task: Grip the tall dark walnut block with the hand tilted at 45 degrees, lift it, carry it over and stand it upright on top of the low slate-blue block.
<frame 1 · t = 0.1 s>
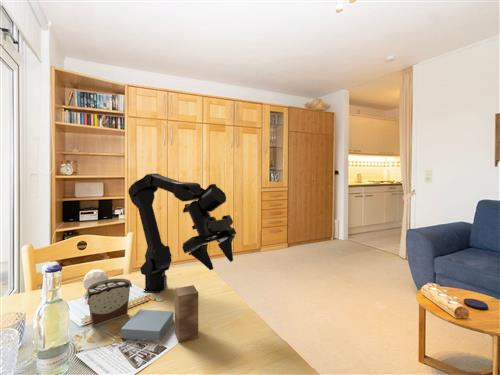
hand: (222, 265, 83), 15 cm above the table, tool tilted 35°, fingers open, 9 cm apart
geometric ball: (96, 291, 99), on the table
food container: (107, 316, 82), on the table
slate-blue block: (148, 330, 76), on the table
walnut block: (186, 335, 73), on the table
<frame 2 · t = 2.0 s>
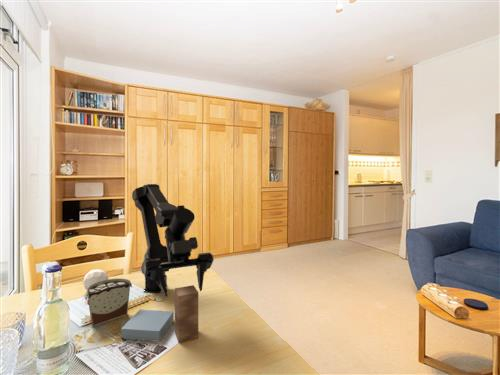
hand: (184, 293, 75), 10 cm above the table, tool tilted 45°, fingers open, 9 cm apart
nothing on the table moved.
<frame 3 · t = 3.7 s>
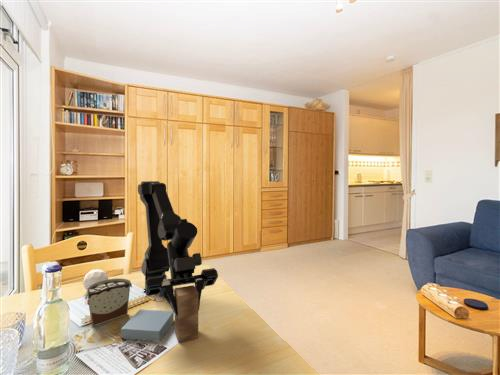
hand: (187, 313, 71), 7 cm above the table, tool tilted 45°, fingers closed on walnut block, 5 cm apart
walnut block: (186, 335, 73), on the table, touching gripper
everything else where it was.
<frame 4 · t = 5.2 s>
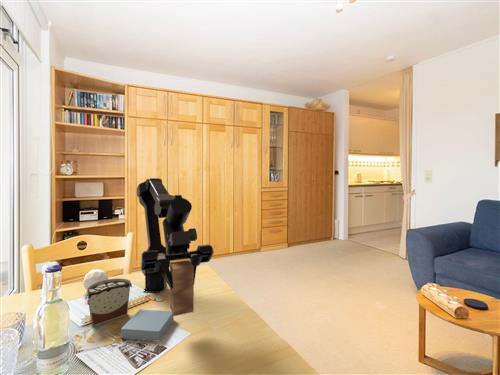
hand: (182, 286, 71), 13 cm above the table, tool tilted 45°, fingers closed on walnut block, 5 cm apart
walnut block: (181, 309, 73), point 7 cm above the table, touching gripper
everything else where it was.
when the fingers open (10 cm above the table, at t = 7.0 s): walnut block drops 1 cm, point 2 cm above the table.
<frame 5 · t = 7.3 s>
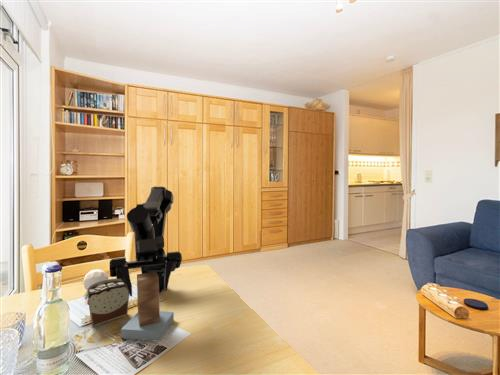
hand: (149, 292, 74), 10 cm above the table, tool tilted 45°, fingers open, 8 cm apart
walnut block: (148, 319, 75), point 2 cm above the table
everything else where it was.
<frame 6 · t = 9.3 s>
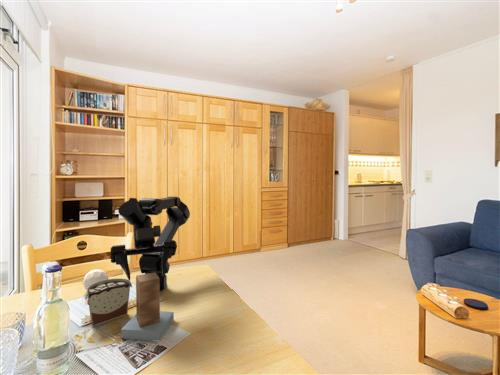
hand: (146, 276, 81), 12 cm above the table, tool tilted 45°, fingers open, 9 cm apart
nothing on the table moved.
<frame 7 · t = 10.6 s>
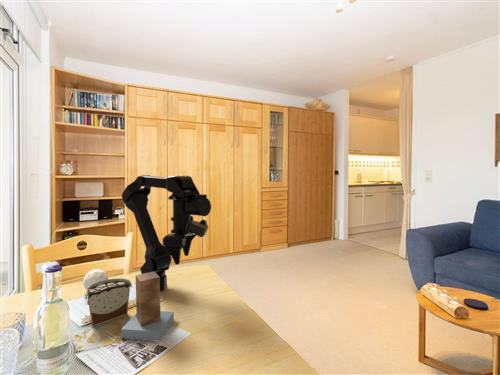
hand: (182, 259, 93), 13 cm above the table, tool pointing down, fingers open, 9 cm apart
slate-blue block: (149, 330, 76), on the table, touching walnut block
walnut block: (148, 319, 76), point 2 cm above the table, touching slate-blue block
everything else where it was.
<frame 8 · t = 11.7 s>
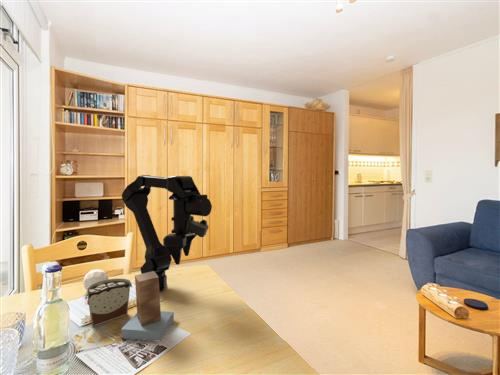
hand: (182, 259, 93), 13 cm above the table, tool pointing down, fingers open, 9 cm apart
nothing on the table moved.
at the end: walnut block 0.3 cm off-centre on the slate-blue block, point 3.2 cm above the slate-blue block's base; walnut block tilted 3°; the gripper is holding nothing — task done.
